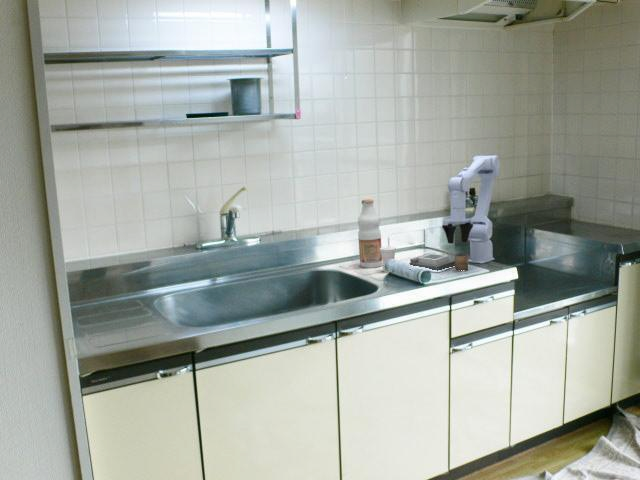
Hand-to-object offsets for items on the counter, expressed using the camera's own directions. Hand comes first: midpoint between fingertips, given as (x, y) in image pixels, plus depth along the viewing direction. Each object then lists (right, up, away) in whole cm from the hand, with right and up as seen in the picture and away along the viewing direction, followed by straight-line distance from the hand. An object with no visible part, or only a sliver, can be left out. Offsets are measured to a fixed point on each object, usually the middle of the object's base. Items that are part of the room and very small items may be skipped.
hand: (457, 242), depth 268 cm
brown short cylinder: (+2, -11, +4) cm, 12 cm away
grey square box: (-8, -10, +11) cm, 17 cm away
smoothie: (-26, -12, +10) cm, 30 cm away
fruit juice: (-32, -10, +22) cm, 40 cm away
